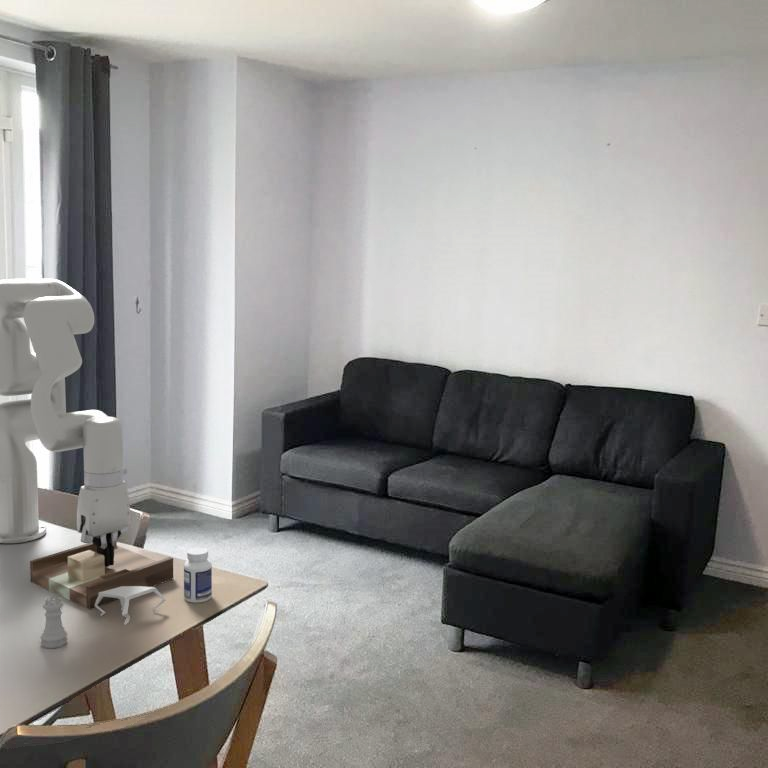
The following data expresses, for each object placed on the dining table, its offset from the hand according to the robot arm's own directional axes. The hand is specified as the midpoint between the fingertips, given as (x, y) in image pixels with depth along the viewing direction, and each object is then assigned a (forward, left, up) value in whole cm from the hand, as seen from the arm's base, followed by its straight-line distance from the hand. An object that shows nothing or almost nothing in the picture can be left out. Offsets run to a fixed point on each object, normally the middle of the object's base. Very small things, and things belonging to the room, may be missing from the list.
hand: (105, 564), depth 177 cm
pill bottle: (+21, +6, -4) cm, 22 cm away
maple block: (0, -5, -1) cm, 5 cm away
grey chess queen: (+17, -23, -4) cm, 28 cm away
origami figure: (+18, -7, -4) cm, 19 cm away
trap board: (0, -1, -3) cm, 3 cm away
